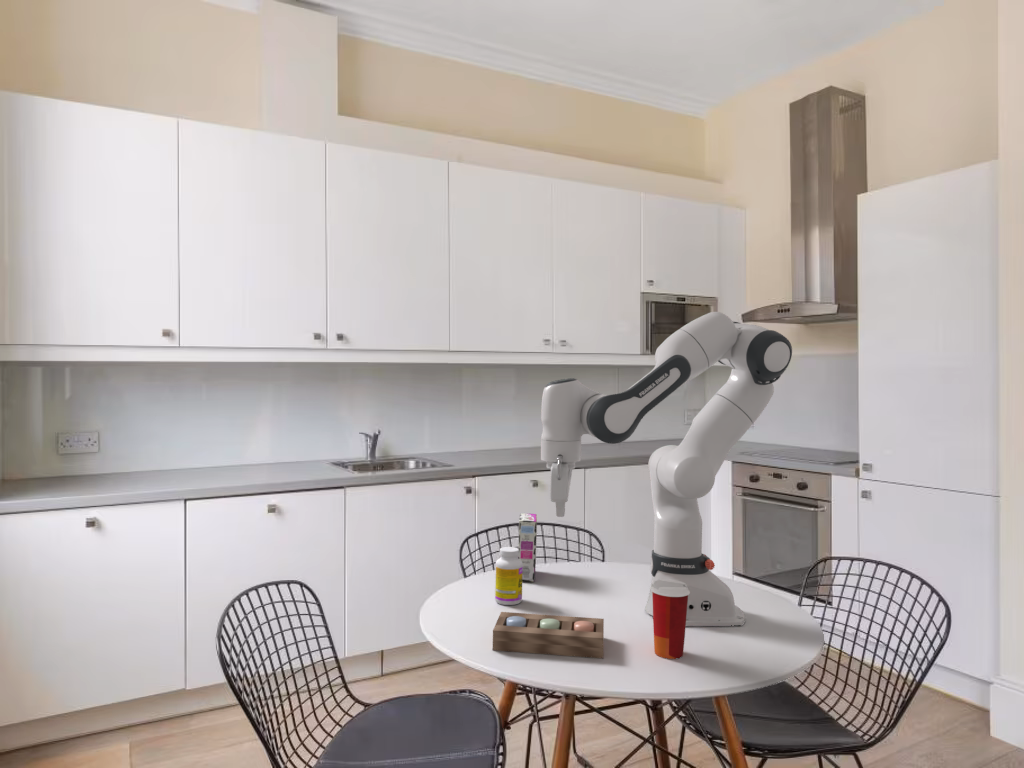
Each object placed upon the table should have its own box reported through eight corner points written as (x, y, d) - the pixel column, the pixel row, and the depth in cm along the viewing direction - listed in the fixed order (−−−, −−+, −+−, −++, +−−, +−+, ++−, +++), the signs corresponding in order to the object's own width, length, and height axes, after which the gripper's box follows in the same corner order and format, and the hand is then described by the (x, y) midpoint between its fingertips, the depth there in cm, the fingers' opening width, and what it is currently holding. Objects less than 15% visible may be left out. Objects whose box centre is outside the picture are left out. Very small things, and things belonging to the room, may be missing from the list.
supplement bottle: (521, 606, 164) (522, 553, 164) (494, 605, 165) (495, 552, 164) (522, 597, 171) (523, 546, 171) (495, 596, 171) (496, 545, 171)
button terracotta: (593, 633, 143) (593, 621, 143) (593, 640, 139) (593, 628, 139) (574, 632, 143) (574, 620, 143) (573, 639, 139) (573, 627, 139)
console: (603, 637, 146) (603, 618, 146) (603, 658, 135) (603, 638, 135) (500, 630, 149) (501, 611, 149) (492, 650, 138) (492, 630, 138)
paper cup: (687, 648, 141) (689, 580, 141) (688, 663, 134) (690, 591, 133) (649, 644, 143) (650, 577, 143) (647, 658, 135) (649, 588, 135)
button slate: (526, 628, 145) (526, 616, 145) (524, 635, 141) (524, 623, 141) (507, 627, 145) (508, 615, 145) (505, 634, 141) (505, 622, 141)
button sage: (559, 631, 144) (560, 619, 144) (558, 638, 140) (558, 626, 140) (540, 629, 144) (541, 617, 144) (539, 636, 140) (539, 624, 140)
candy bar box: (535, 582, 184) (537, 521, 183) (517, 582, 184) (518, 520, 184) (535, 570, 195) (536, 513, 195) (517, 570, 195) (519, 512, 195)
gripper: (574, 458, 140) (574, 526, 140) (576, 447, 160) (575, 507, 161) (543, 458, 141) (543, 525, 141) (549, 447, 161) (548, 506, 161)
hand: (560, 515), depth 151 cm, fingers closed
